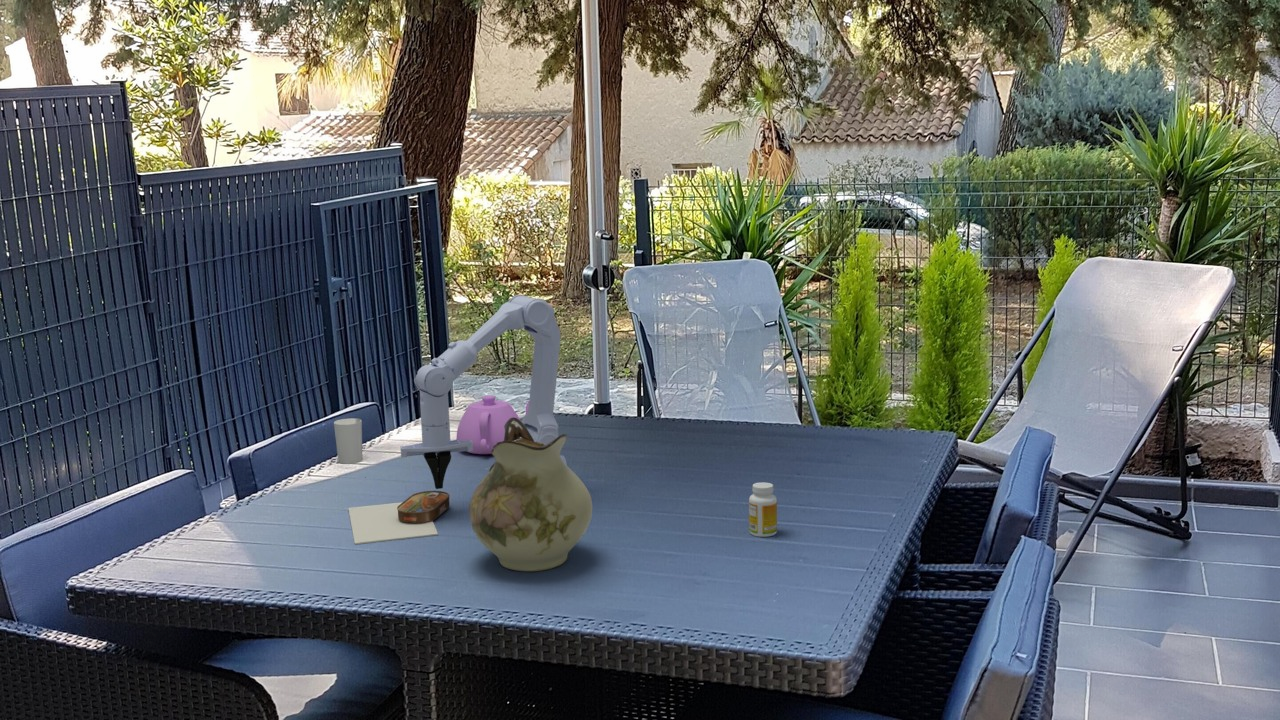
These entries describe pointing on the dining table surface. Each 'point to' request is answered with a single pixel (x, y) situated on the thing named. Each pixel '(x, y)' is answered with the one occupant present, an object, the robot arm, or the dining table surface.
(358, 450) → the drinking glass
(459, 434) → the teapot
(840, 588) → the dining table surface
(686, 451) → the dining table surface
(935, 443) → the dining table surface
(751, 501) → the supplement bottle
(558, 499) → the pitcher
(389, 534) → the mat
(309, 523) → the dining table surface
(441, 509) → the tin
